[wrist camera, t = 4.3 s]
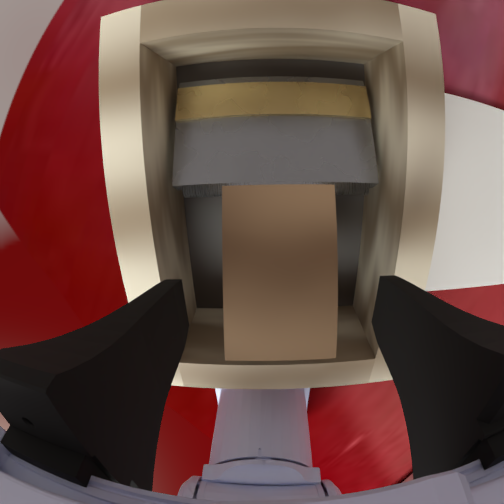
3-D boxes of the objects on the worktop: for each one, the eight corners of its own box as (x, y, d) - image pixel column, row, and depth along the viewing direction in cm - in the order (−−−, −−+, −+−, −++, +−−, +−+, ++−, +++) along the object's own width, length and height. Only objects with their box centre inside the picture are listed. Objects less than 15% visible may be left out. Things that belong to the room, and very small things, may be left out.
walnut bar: (327, 345, 13) (335, 358, 11) (230, 347, 14) (224, 360, 12) (325, 195, 14) (334, 184, 12) (228, 196, 14) (222, 185, 12)
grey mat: (505, 280, 20) (509, 283, 19) (420, 287, 20) (423, 291, 20) (528, 121, 14) (532, 121, 14) (438, 93, 15) (443, 92, 14)
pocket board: (372, 324, 21) (397, 378, 16) (175, 327, 22) (152, 383, 17) (389, 41, 14) (435, 14, 8) (146, 44, 15) (101, 17, 9)
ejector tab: (374, 343, 14) (384, 351, 13) (180, 346, 15) (170, 355, 13) (358, 89, 15) (365, 75, 13) (184, 92, 15) (176, 77, 14)
